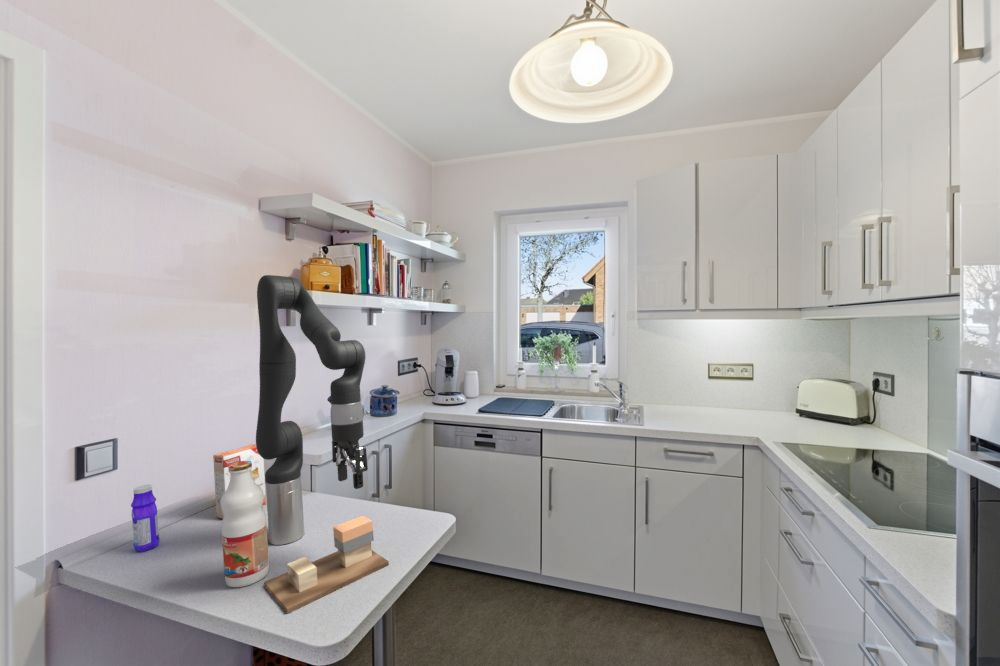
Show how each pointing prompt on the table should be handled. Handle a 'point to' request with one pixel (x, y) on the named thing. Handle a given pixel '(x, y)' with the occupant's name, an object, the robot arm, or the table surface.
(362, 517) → the cover
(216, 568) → the table surface
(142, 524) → the bottle
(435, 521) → the table surface
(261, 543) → the fruit juice
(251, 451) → the cracker box
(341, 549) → the housing base
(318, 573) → the twin stand
